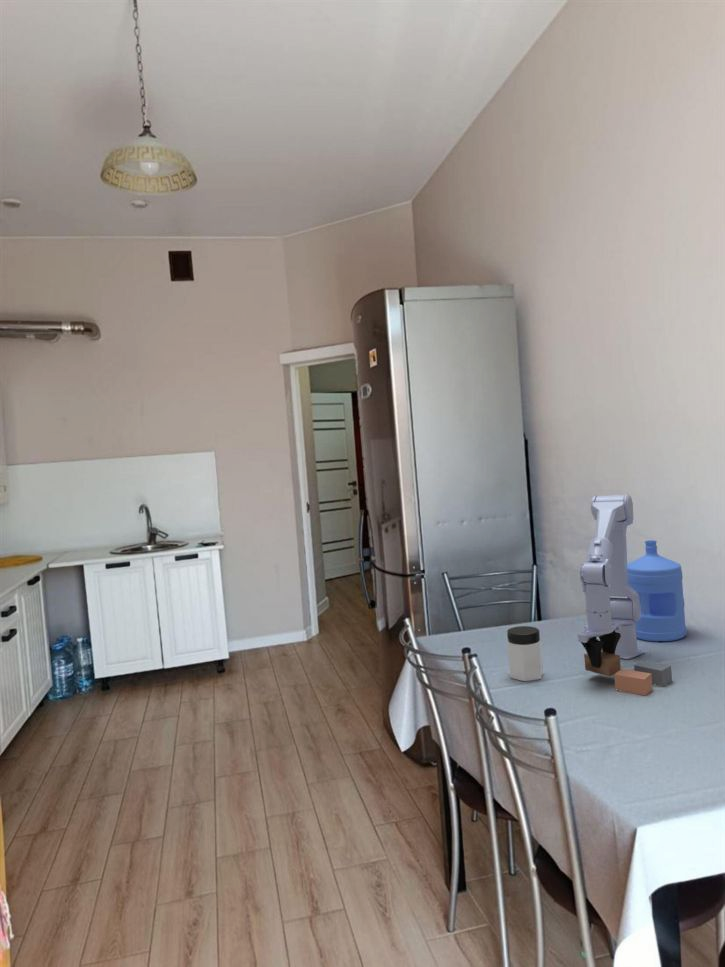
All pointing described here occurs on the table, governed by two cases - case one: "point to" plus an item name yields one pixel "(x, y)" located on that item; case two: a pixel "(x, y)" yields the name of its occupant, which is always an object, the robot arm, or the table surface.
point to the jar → (525, 653)
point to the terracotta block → (633, 681)
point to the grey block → (655, 671)
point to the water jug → (658, 596)
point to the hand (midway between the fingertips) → (602, 664)
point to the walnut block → (604, 664)
